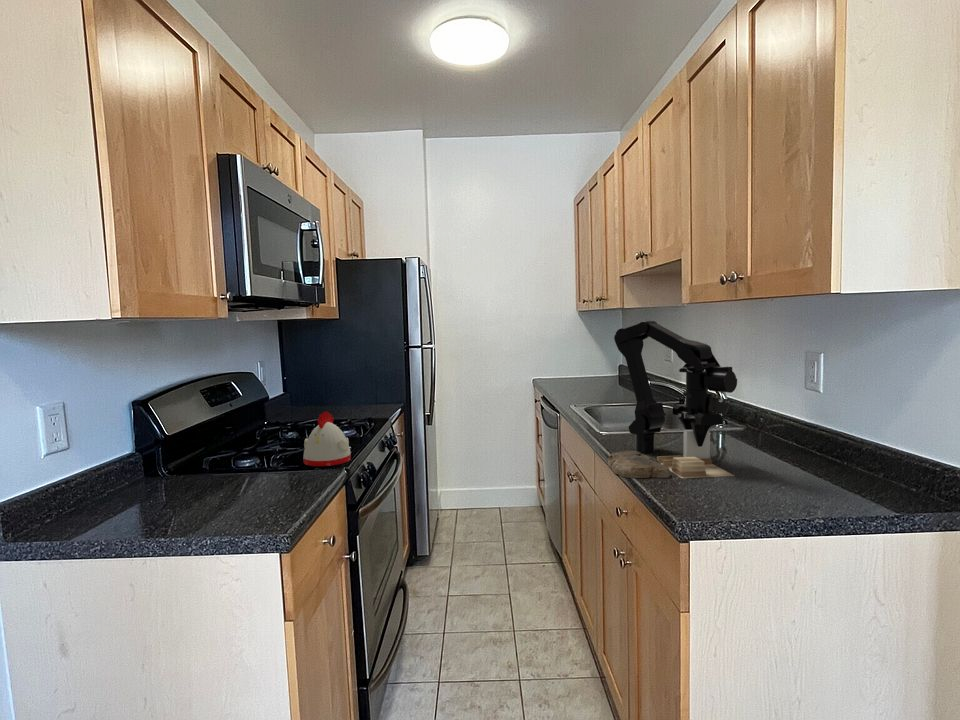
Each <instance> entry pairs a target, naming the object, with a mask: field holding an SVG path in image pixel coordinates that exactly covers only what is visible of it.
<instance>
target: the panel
mask: <svg viewBox="0 0 960 720" xmlns="http://www.w3.org/2000/svg"><path fill="white" fill-rule="evenodd" d="M710 438H711V430H709V429H708V432H707V434H706V437H705V440H704V443H703V445H702V447H699V446H698V445H697V442H696V439H695V436H694V432H693V430H685V429H683V452H682V453H683V454H682V455H683V457H697V458H698V459H699V458H711V456H710V454H711V452H710V451H711V449H710V447H711V439H710Z"/></svg>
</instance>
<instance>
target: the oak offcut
mask: <svg viewBox="0 0 960 720" xmlns="http://www.w3.org/2000/svg"><path fill="white" fill-rule="evenodd" d="M672 466H673V467H674V468H676V469H677V470H679V471H681V472H695V471H705V466H699V467H680V466H679V465H677V464H675V463H674V462H672Z"/></svg>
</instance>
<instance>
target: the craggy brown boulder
mask: <svg viewBox="0 0 960 720" xmlns="http://www.w3.org/2000/svg"><path fill="white" fill-rule="evenodd" d="M607 466H608V467H610V468H611V469H612V472H613V474H615V475H617V476H619V477H622V478H627V479H628V478H629V479H630V478H631V479H638V478H639V479H641V478H642V479H643V478H657V479H658V478H665V479H666V478H670V477H671V475H672V474H671V471H670V470H669V468H668V467H667V466H664V465H662V464H661V463H659V462H658V461H657V459H655V458H654V457H651V456H649V455H646V454H644V453H642V452H638V451H636V450H620V451H614V452H611V454H610V455H609V456H608V461H607Z"/></svg>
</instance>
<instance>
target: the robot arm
mask: <svg viewBox="0 0 960 720" xmlns="http://www.w3.org/2000/svg"><path fill="white" fill-rule="evenodd" d="M613 337H614V339H613V340H614V343H615V345H616V348H617V350H618V351H619V352H620V353H621V354H622V355H623V357H624V358H625V361H626V365H627V369H628V373H629V378H630V380H631V384H632V388H633V393H634V396H635V399H636V400H635V401H636V405H635V409H634V417H635V418H634V420H633V421H632V422H631V423H630V424H629V425H628V432H629V434H631V435H635V445H634V446H635V450H634V451H638V452H639V453H642V454H654V453H655V451H656V449H655V448H656V447H655V446H656V444H655V443H656V442H655V441H656V438H655V437H656V434H657V433H661V430H662V428H663V426H664V423H666V416H667V414H666V413H665V410H664V405H663V402H657V401H656V400H655V399H654V397H653V392H652V389H651V386H650V382H649V378H648V374H647V370H646V366H645V363H644V360H643V356H642V354H643V353H642V352H643V349H644V340H646V339H648V338H650V339H653V340H654V341H657V342H658V343H659V344H661V345H663V346H664V347H667V348H669V349H670V350H672V351H673V352H674V353H676V355H677V357H678V358H679V359H680V360H681V361H682V362H683V363H684V365H683V366H682V367H681V368H680V369H678V372H680V373H685V391H683V392H682V396H684V397H685V403H683V404H681V403H680V404H678V403H677V404H674V405H673V407H672V415H675V416H678V418H677V419H678V420H679V421H680V423H681V425H682V427H683V430H693V432H694V436H695V439H696V442H697V445H698V446H699V447H702V445H703V443H704V440H705V437H706V434H707V432H708V430H709V429H711V428H712V427H713V426H719V425H720V426H721V425H722V426H723V425H724V424H725V421H724V416H726V415H727V413H728V410H729V407H730V404H729V403H725V402H723V401H719V400H718V397H716V396H713V394H712V393H710V392H709V391H711V392H718V393H719V392H720V393H727V394H728V393H729V394H730V393H731V394H732V393H733V392H735V390H736V389H737V385H738V378H737V375H736V374H735V372H734V371H733V366H721V365H720V363H719V361H718V360H717V359H716V356H715V355H714V354H713V351H712V347H711V346H710V345H708V344H707V343H703V342H701V341H697V340H691V339H687V338H685V337H683V336H681V335H679V334H677V333H676V332H674V331H671V330H670V329H668V328H666V327H664V326H662V325H660V324H658V322H656V321H655V320H643V321H641V322H639V323H637V324H634V325H631V326H628V327H625V328H619V329H617V330H616V331H615V334H614V336H613ZM679 414H680V416H679Z"/></svg>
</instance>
